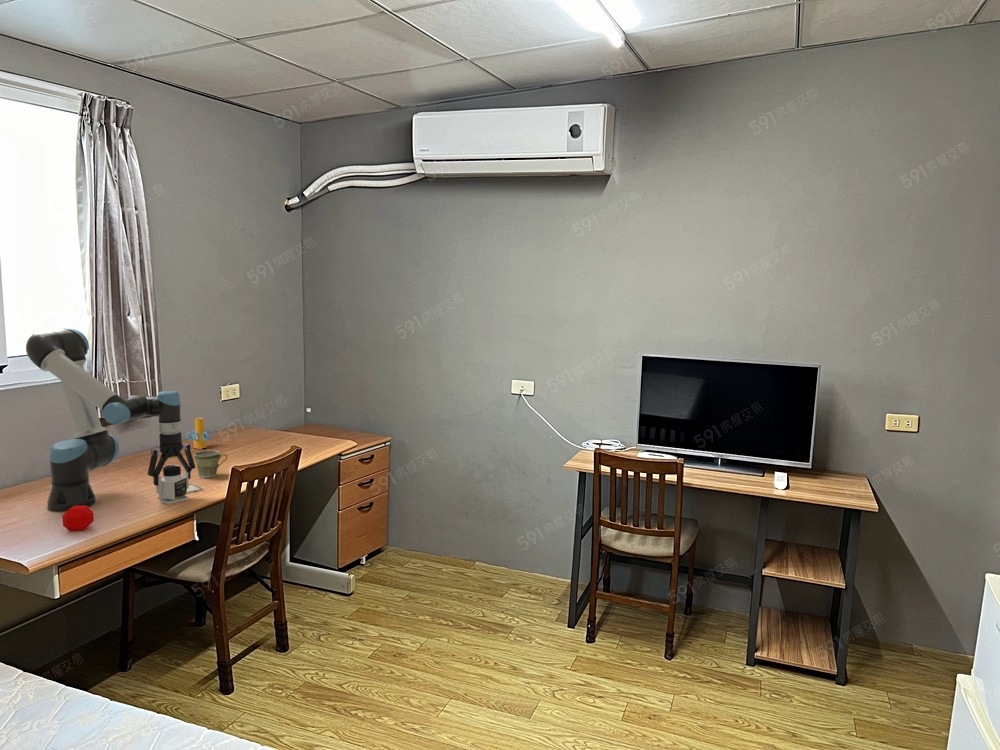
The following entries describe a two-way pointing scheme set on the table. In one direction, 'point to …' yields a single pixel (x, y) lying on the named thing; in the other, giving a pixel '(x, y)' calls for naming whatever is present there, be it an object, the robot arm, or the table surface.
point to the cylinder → (199, 434)
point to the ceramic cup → (208, 463)
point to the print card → (193, 488)
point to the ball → (78, 518)
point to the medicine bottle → (173, 483)
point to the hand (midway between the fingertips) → (172, 490)
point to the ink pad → (173, 500)
